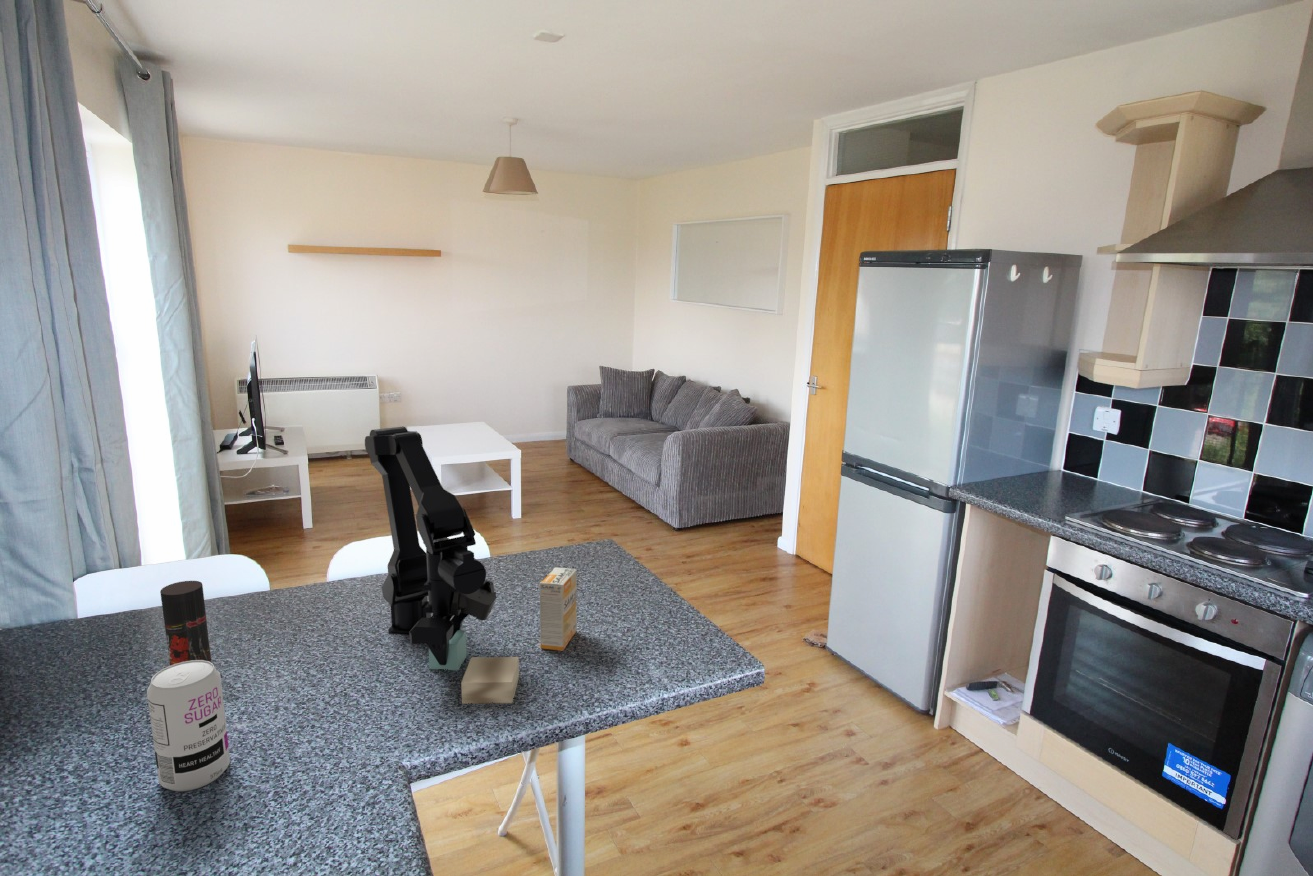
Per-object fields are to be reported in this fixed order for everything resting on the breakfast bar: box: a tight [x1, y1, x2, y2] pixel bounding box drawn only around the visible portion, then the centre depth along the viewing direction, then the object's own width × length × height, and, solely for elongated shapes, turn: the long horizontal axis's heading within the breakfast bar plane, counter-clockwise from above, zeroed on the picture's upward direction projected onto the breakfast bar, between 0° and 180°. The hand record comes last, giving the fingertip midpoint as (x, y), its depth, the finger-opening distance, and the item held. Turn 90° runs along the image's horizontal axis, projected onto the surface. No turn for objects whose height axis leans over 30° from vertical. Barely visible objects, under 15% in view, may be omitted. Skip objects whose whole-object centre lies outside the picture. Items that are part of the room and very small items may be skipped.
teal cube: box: [428, 629, 468, 671], centre depth 128 cm, size 5×5×5 cm
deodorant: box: [160, 580, 212, 666], centre depth 123 cm, size 6×6×15 cm
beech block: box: [460, 656, 520, 705], centre depth 119 cm, size 8×8×4 cm
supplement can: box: [146, 660, 231, 792], centre depth 97 cm, size 8×8×15 cm
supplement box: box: [539, 567, 578, 652], centre depth 136 cm, size 8×5×13 cm, turn 168°
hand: (448, 657), depth 128 cm, fingers closed on teal cube, 5 cm apart
